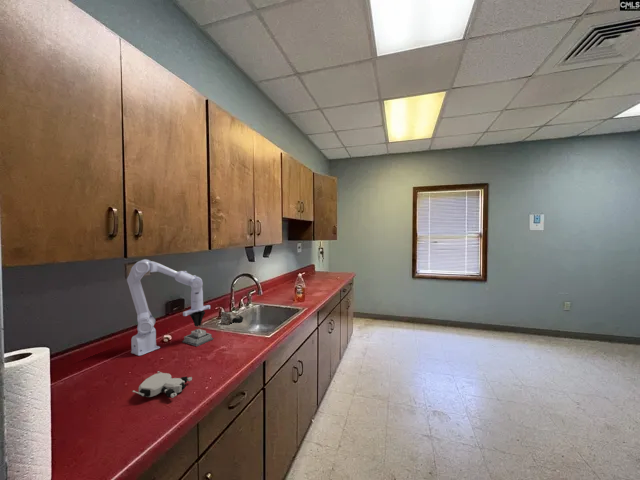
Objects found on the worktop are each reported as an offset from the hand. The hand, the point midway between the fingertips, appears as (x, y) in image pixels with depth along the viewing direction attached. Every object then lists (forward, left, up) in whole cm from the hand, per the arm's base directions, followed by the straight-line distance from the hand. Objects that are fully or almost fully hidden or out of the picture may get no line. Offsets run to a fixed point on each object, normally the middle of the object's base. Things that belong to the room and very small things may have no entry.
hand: (197, 325), depth 133 cm
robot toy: (-34, -30, -8) cm, 46 cm away
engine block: (0, 0, -7) cm, 7 cm away
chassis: (0, 0, -8) cm, 8 cm away
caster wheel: (+29, +6, -8) cm, 30 cm away
